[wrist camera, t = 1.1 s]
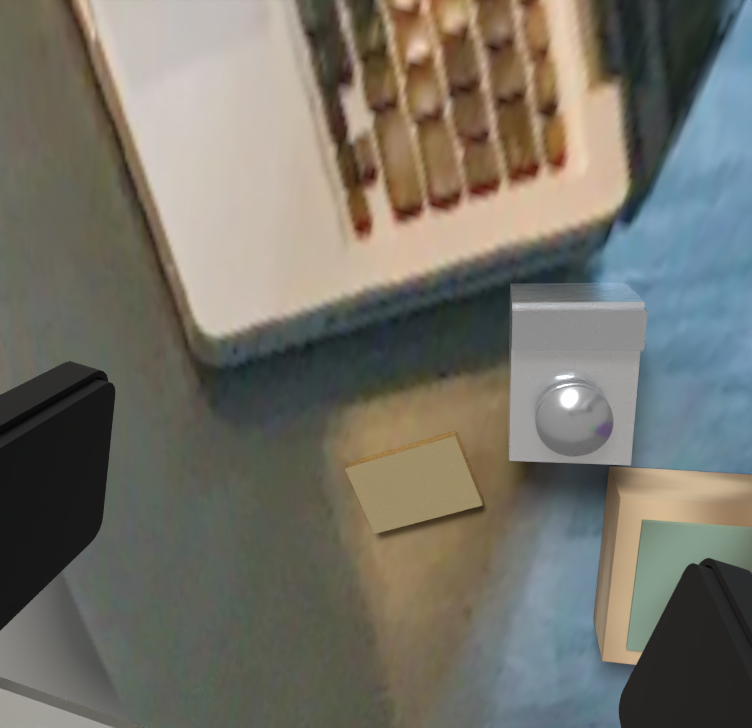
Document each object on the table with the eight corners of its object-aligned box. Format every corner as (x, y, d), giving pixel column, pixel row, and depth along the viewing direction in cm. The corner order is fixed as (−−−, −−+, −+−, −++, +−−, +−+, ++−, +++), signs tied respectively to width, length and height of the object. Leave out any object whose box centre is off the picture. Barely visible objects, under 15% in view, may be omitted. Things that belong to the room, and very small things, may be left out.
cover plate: (456, 426, 33) (455, 435, 31) (483, 493, 33) (482, 505, 32) (350, 458, 34) (345, 468, 33) (378, 521, 35) (374, 534, 34)
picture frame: (862, 481, 29) (903, 519, 26) (822, 641, 32) (856, 692, 29) (609, 466, 31) (621, 500, 28) (593, 618, 34) (602, 664, 31)
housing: (510, 282, 29) (512, 308, 25) (625, 281, 29) (650, 307, 24) (507, 423, 32) (509, 471, 27) (614, 426, 31) (635, 476, 26)
